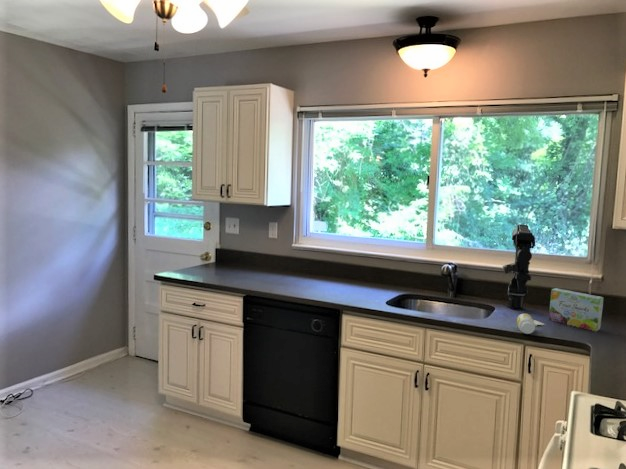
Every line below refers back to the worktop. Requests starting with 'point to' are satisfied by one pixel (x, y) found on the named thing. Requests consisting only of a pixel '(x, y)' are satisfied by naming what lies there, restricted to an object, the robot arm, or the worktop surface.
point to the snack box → (576, 309)
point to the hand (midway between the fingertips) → (519, 291)
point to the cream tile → (538, 323)
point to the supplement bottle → (525, 323)
